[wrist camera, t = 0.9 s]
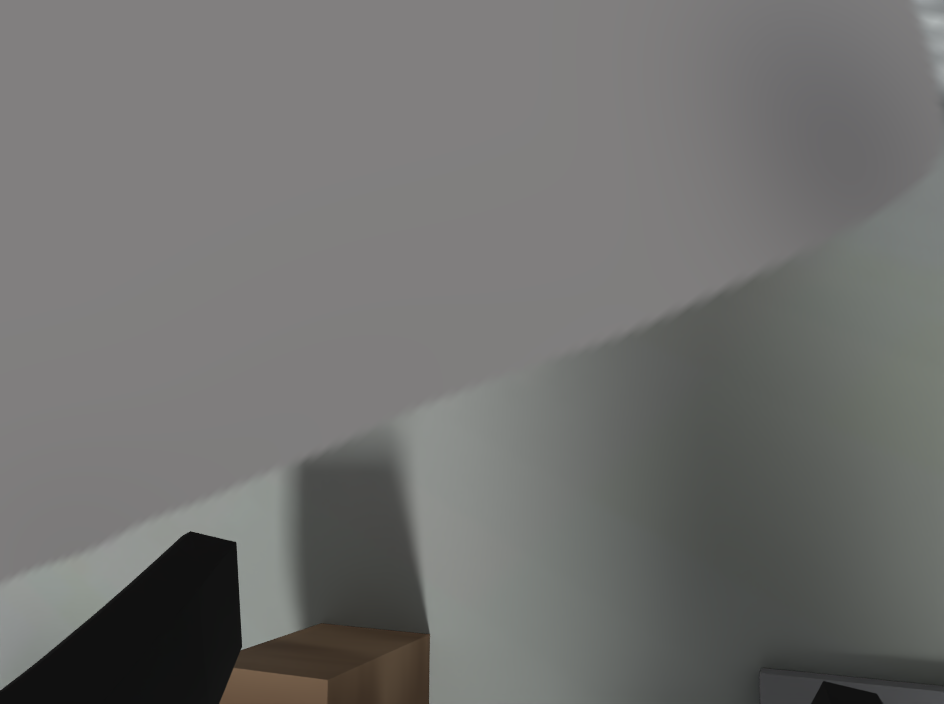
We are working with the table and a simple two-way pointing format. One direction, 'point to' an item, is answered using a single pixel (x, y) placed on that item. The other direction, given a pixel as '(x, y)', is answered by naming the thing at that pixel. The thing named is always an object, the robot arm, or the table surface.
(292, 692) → the block
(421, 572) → the table surface
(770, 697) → the pad
